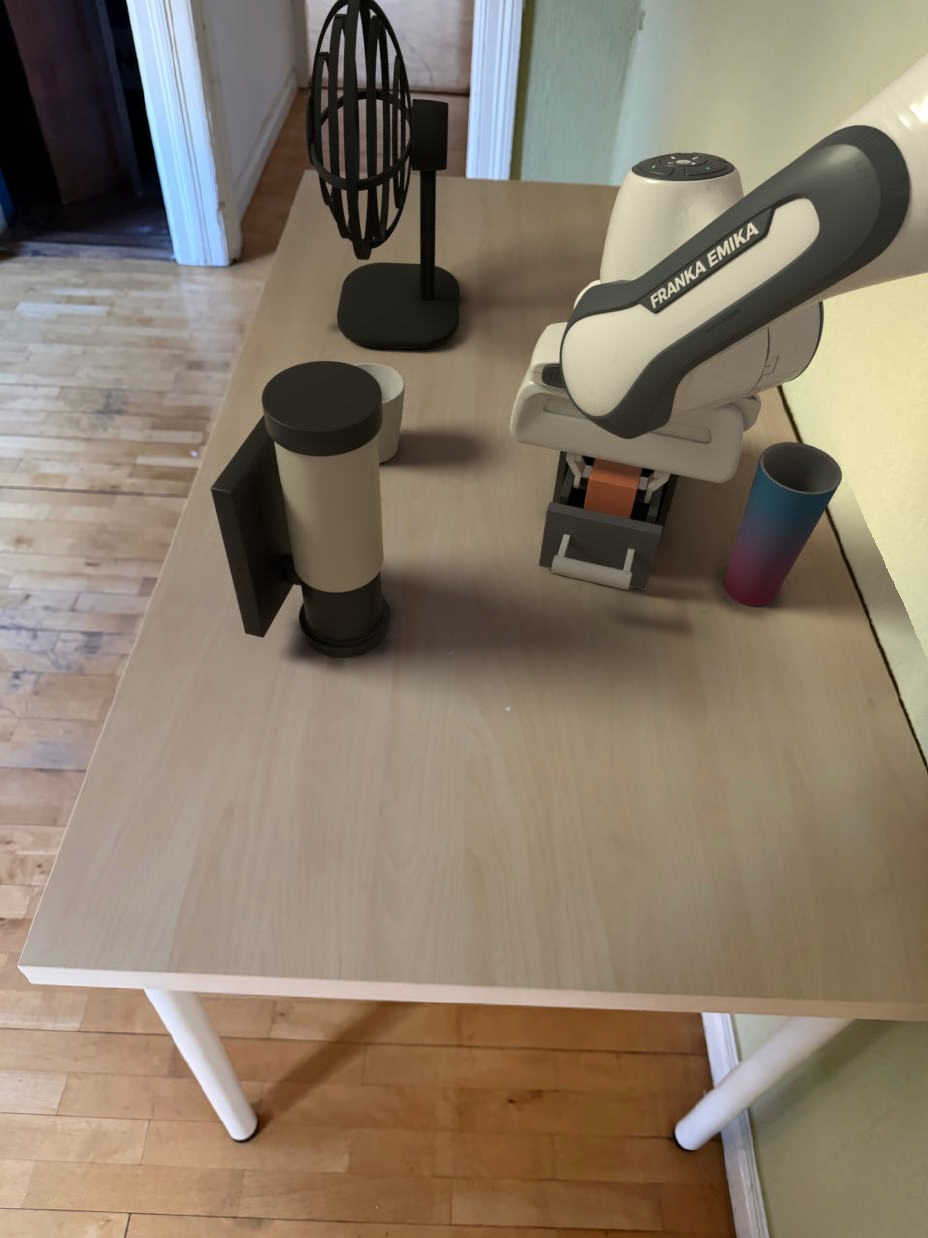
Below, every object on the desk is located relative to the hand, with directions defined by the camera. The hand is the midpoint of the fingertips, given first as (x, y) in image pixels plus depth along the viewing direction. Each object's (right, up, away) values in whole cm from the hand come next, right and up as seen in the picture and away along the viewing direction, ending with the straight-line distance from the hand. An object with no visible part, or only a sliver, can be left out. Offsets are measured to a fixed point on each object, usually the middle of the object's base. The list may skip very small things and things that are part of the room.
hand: (611, 491), depth 82 cm
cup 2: (+14, -9, +3) cm, 17 cm away
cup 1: (-25, +7, +14) cm, 30 cm away
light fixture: (-26, -12, -2) cm, 29 cm away
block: (0, -1, +1) cm, 2 cm away
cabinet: (+3, +3, +13) cm, 13 cm away
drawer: (0, -5, +4) cm, 7 cm away
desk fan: (-23, +29, +34) cm, 50 cm away
